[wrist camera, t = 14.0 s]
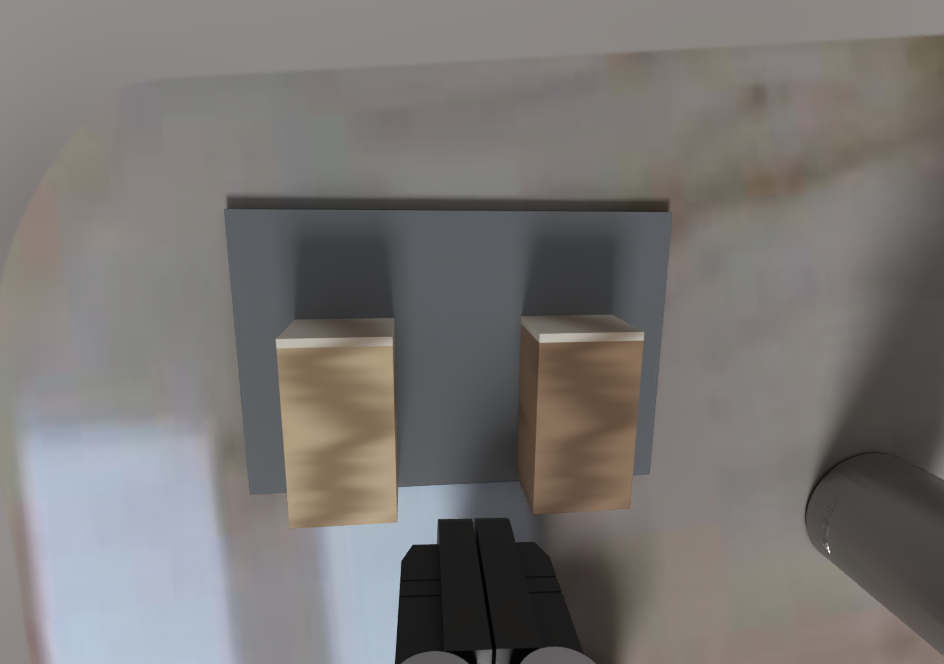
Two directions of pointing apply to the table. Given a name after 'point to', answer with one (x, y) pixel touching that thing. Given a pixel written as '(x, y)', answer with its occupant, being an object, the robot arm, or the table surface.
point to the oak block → (339, 421)
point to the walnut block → (578, 412)
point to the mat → (439, 316)
